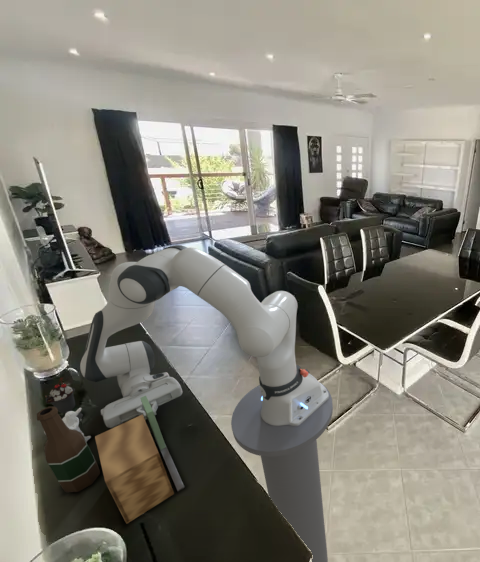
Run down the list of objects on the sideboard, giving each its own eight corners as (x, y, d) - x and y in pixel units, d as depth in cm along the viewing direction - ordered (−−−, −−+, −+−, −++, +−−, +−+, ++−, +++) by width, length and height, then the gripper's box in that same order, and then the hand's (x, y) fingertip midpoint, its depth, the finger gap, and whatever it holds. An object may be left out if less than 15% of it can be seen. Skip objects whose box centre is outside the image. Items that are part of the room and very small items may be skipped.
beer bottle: (105, 461, 89) (72, 394, 79) (97, 486, 83) (60, 417, 73) (69, 472, 86) (31, 404, 76) (58, 499, 80) (14, 429, 70)
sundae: (89, 408, 106) (72, 372, 100) (81, 424, 101) (62, 386, 95) (65, 414, 104) (46, 377, 98) (54, 430, 99) (33, 392, 93)
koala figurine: (94, 431, 98) (79, 401, 94) (97, 444, 94) (82, 414, 89) (57, 448, 93) (39, 417, 88) (58, 463, 89) (40, 431, 84)
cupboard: (159, 431, 98) (145, 394, 92) (184, 487, 83) (170, 446, 77) (109, 457, 90) (90, 418, 84) (126, 524, 75) (104, 481, 69)
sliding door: (159, 430, 98) (146, 394, 92) (167, 446, 93) (154, 410, 87) (153, 433, 97) (140, 397, 91) (160, 450, 92) (146, 413, 86)
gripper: (96, 401, 96) (102, 427, 87) (172, 369, 109) (184, 390, 101) (103, 416, 99) (110, 444, 90) (176, 384, 112) (189, 405, 103)
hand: (150, 415), depth 95 cm, fingers closed
